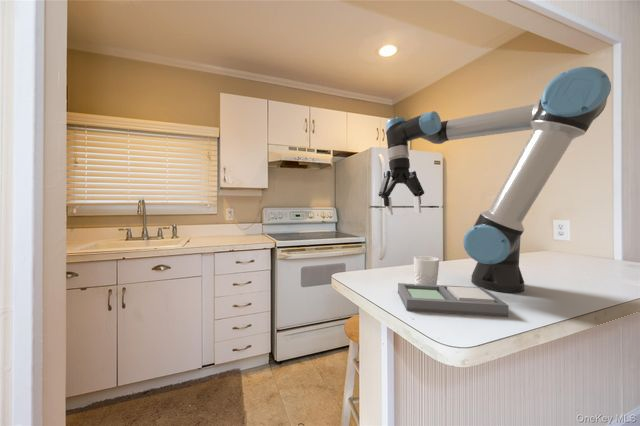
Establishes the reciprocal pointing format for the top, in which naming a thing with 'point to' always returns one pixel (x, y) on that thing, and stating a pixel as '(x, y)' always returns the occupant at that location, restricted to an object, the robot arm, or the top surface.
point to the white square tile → (469, 294)
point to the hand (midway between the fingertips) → (404, 214)
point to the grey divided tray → (450, 302)
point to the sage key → (425, 294)
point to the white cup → (426, 270)
